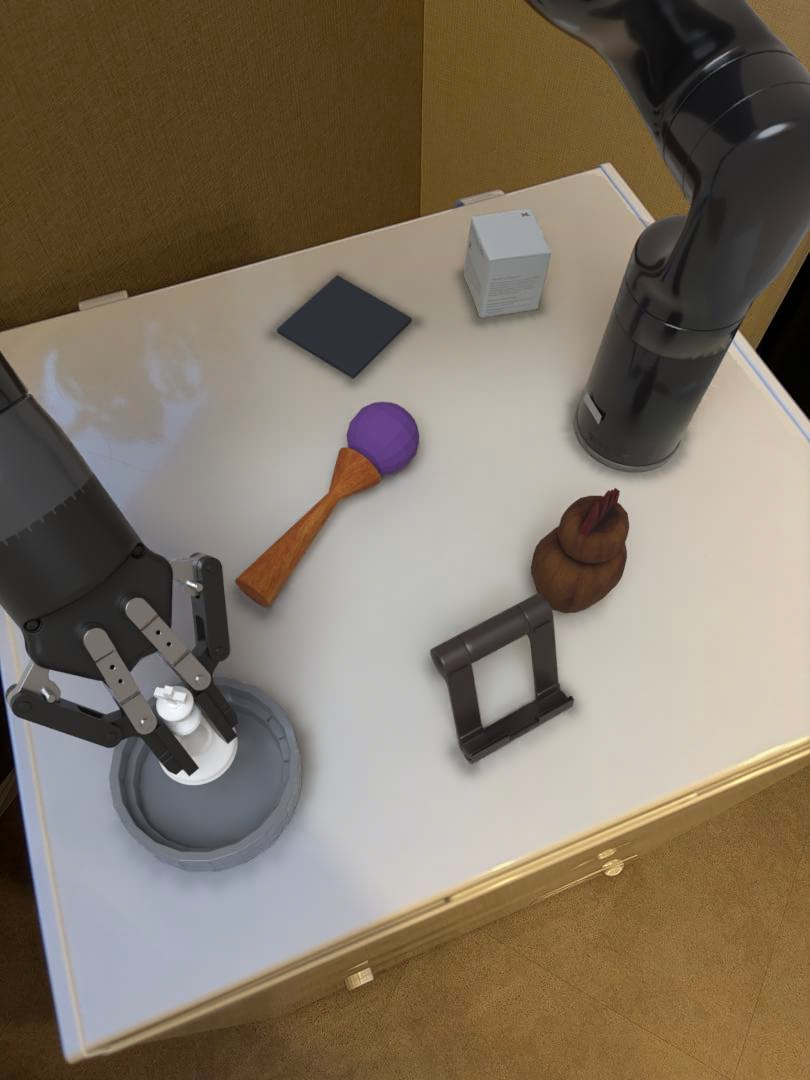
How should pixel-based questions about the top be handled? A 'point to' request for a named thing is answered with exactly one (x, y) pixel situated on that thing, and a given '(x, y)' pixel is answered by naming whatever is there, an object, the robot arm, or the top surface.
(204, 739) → the chess piece
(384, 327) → the mat
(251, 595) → the kendama
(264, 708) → the basin
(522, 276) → the product box
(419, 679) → the top surface
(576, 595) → the brown gourd
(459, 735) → the tablet stand
